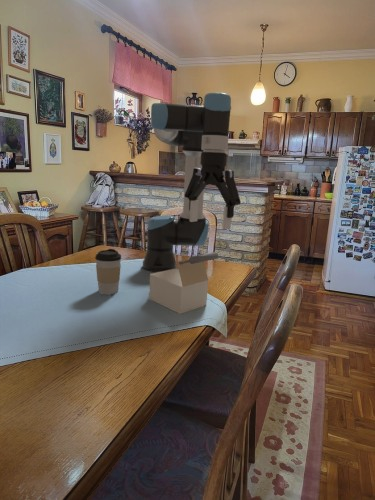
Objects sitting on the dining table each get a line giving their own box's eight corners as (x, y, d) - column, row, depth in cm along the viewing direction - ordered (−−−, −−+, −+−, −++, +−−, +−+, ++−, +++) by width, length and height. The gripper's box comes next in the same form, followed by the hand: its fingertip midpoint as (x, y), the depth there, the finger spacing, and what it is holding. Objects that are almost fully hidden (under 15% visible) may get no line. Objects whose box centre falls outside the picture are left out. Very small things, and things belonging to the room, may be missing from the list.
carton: (174, 291, 132) (175, 267, 130) (206, 305, 121) (208, 280, 118) (148, 298, 124) (148, 273, 122) (180, 314, 112) (181, 287, 110)
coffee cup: (115, 297, 124) (115, 255, 120) (91, 293, 125) (90, 252, 122) (124, 288, 132) (125, 249, 129) (102, 285, 134) (101, 247, 131)
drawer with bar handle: (201, 255, 118) (217, 251, 113) (207, 280, 118) (223, 277, 112) (176, 260, 111) (192, 256, 106) (182, 286, 111) (198, 283, 105)
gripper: (175, 150, 108) (172, 219, 113) (240, 152, 91) (233, 233, 96) (193, 151, 113) (189, 217, 118) (257, 153, 96) (250, 230, 101)
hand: (209, 225), depth 107 cm, fingers open, 13 cm apart
